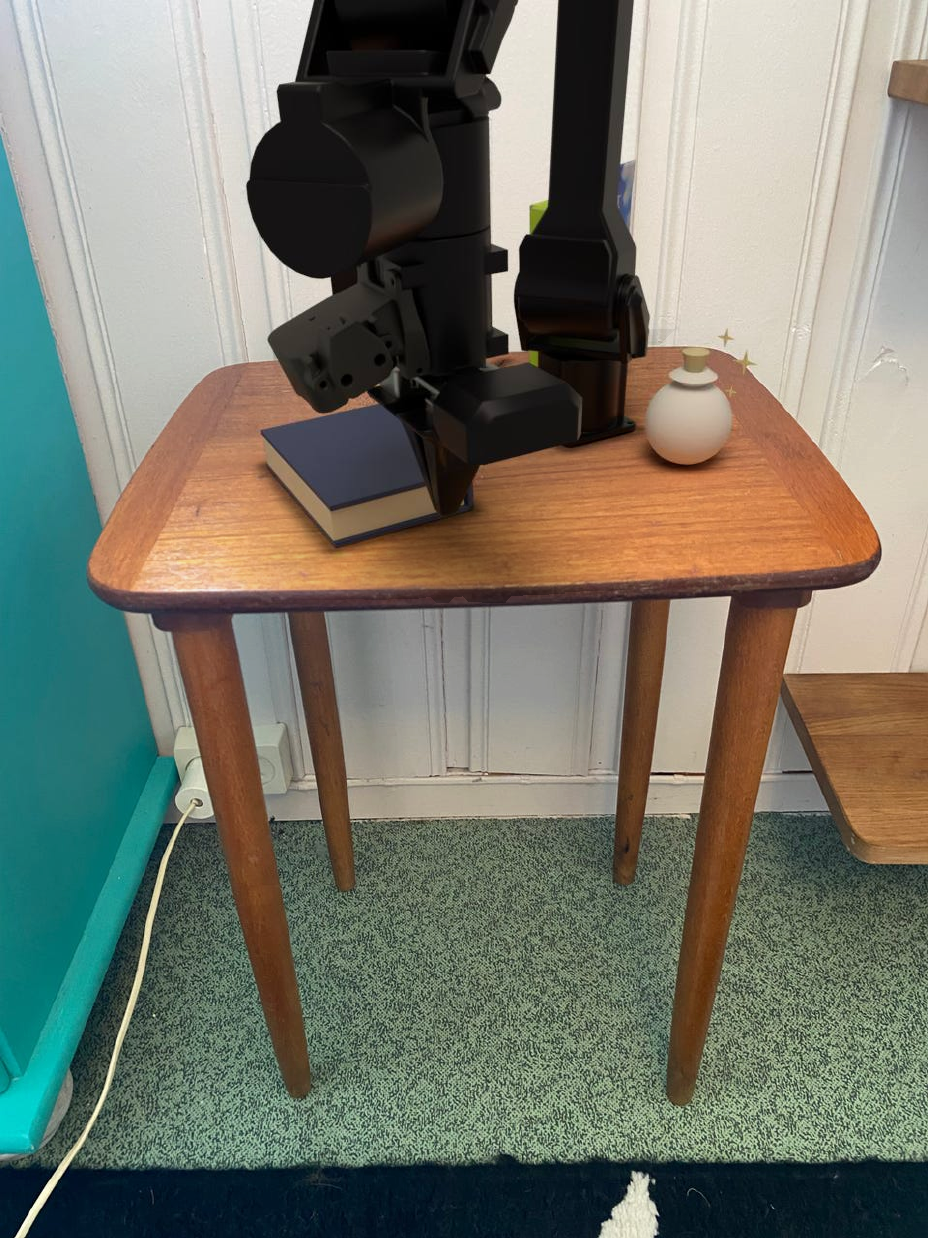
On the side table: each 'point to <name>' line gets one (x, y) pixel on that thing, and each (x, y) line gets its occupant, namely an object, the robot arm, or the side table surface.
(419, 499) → the book
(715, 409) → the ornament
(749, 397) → the side table surface
